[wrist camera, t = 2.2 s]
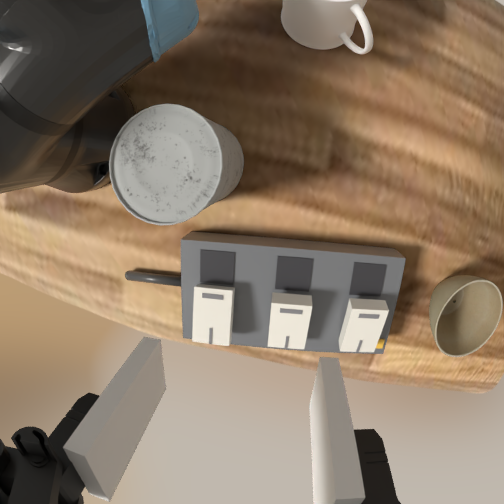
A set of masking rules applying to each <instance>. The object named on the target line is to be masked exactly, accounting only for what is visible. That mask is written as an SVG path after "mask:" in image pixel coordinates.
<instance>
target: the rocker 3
mask: <svg viewBox="0 0 504 504" xmlns="http://www.w3.org/2000/svg"><path fill="white" fill-rule="evenodd" d="M388 312H389V309H388V306H387V304H386V301H385V300H373V299H356V298H349V302H348V306H347V310H346V314H345V318H344V322H343V326H342V329H341V333H340V337H339V348H340V351H343V352H358V353H359V352H374V351H375V348H376V346H377V343H378V340H379V338H380V335H381V332H382V329H383V327H384V324H385V321H386V318H387V315H388Z"/></svg>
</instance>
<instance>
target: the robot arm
mask: <svg viewBox="0 0 504 504" xmlns="http://www.w3.org/2000/svg"><path fill="white" fill-rule="evenodd" d="M198 19H199V11H198V6H197V3H196V0H0V193H5V192H9V191H14V190H19V189H24V188H29V187H34V186H39V185H44V184H45V185H48V186H51V187H53V188H56V189H59V190H62V191H65V192H70V193H82V192H87V191H92V190H95V189H98V188H101V187H102V186H104V185H106V184H107V183H109V182H110V181H111V179H110V171H109V161H110V153H111V149H112V146H113V143H114V141H115V138H116V136H117V135H118V133H119V131H120V130H121V128H122V127H123V126H124V125H125V124H126V122H127V121H128V120H129V119H130V118H131V117H133V116H134V110H133V107H132V104H131V101H130V99H129V97H128V96H127V94H126V93H125V91H124V90H123V89H122V88H121V87H120V86H121V85H122V84H123V83H125V82H126V81H127V80H128V79H130V78H131V77H132V76H134V75H135V74H136V73H138V72H139V71H141V70H142V69H143V68H145V67H146V66H147V65H149V64H150V63H152V62H153V61H154V63H155V62H156V61H158V60H159V58H160V56H161V55H162V54H163V53H164V52H166V51H167V50H169V49H170V48H171V47H173V46H174V45H176V44H177V43H178V42H180V41H181V40H183V39H184V38H186V37H187V36H188V35H190V34H191V33H192V32H193V30H194V29H195V27H196V26H197V23H198ZM165 390H166V384H165V376H164V367H163V358H162V348H161V340H160V339H154V338H148V337H144V338H143V339H142V340H141V342H140V343H139V344H138V346H137V347H136V348H135V350H134V351H133V352H132V354H131V355H130V356H129V357H128V359H127V360H126V362H125V363H124V364H123V365H122V367H121V368H120V369H119V371H118V372H117V373H116V375H115V376H114V378H113V379H112V380H111V382H110V383H109V384H108V386H107V387H106V388H105V390H104V391H103V392H102V394H101V395H100V396H99V395H95V394H92V393H88V394H86V395H84V396H83V397H81V398H79V399H78V400H77V402H76V403H75V404H74V405H73V407H72V408H71V410H69V412H68V413H67V414H66V417H64V418H63V419H62V421H61V422H60V423H59V425H58V426H57V427H56V428H55V430H54V431H53V432H52V434H51V435H50V436H49V437H47V435H46V433H45V432H44V431H43V430H41V429H39V428H36V427H24V428H22V429H19V430H18V431H17V432H15V433H14V435H13V436H12V438H11V439H12V440H13V442H14V444H15V445H16V447H17V449H16V448H11V447H7V446H5V445H4V444H3V442H2V440H1V439H0V504H84V502H83V496H82V495H81V492H82V491H83V489H84V487H86V489H87V490H88V492H89V493H90V494H91V495H93V496H96V497H98V498H101V499H103V500H106V501H109V502H110V500H111V498H112V496H113V494H114V492H115V490H116V488H117V486H118V484H119V482H120V480H121V478H122V476H123V474H124V472H125V470H126V468H127V466H128V464H129V462H130V459H131V458H132V456H133V454H134V452H135V450H136V448H137V445H138V443H139V442H140V440H141V437H142V436H143V434H144V431H145V430H146V428H147V426H148V424H149V421H150V420H151V418H152V416H153V414H154V412H155V410H156V408H157V406H158V404H159V402H160V400H161V398H162V396H163V394H164V392H165ZM309 408H310V427H311V447H312V471H313V501H314V502H313V504H401V503H400V502H399V501H398V499H397V496H396V492H395V488H394V483H393V479H392V475H391V471H390V467H389V463H388V459H387V456H386V453H385V448H384V444H383V440H382V438H381V437H380V436H379V435H378V433H377V432H376V431H375V430H374V429H362V430H354V429H353V425H352V420H351V414H350V409H349V405H348V400H347V395H346V390H345V386H344V381H343V377H342V372H341V368H340V363H339V359H338V358H329V357H320V358H319V363H318V368H317V373H316V378H315V383H314V387H313V392H312V397H311V401H310V405H309Z"/></svg>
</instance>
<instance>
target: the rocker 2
mask: <svg viewBox="0 0 504 504" xmlns="http://www.w3.org/2000/svg"><path fill="white" fill-rule="evenodd" d="M311 312H312V295H299V294H287V293H275V292H273V293H272V303H271V314H270V325H269V336H268V346H267V347H278V348H285V349H287V348H290V349H304V348H305V343H306V338H307V333H308V328H309V322H310V317H311Z"/></svg>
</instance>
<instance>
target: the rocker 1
mask: <svg viewBox="0 0 504 504" xmlns="http://www.w3.org/2000/svg"><path fill="white" fill-rule="evenodd" d="M234 295H235V287H224V286H214V285H205V284H198V285H196V286H195V287H194V302H193V329H192V341H194V342H201V343H208V344H216V345H224V346H229V345H230V343H231V340H232V325H233V310H234Z"/></svg>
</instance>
